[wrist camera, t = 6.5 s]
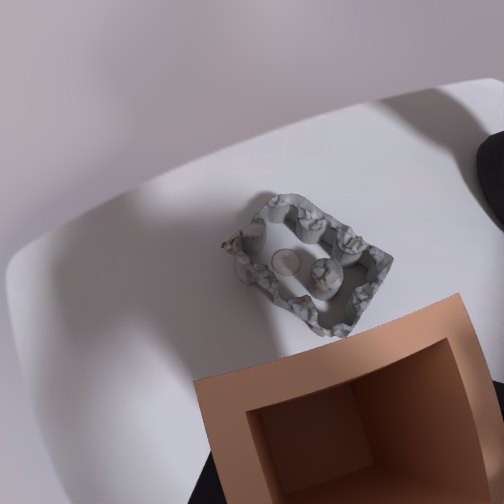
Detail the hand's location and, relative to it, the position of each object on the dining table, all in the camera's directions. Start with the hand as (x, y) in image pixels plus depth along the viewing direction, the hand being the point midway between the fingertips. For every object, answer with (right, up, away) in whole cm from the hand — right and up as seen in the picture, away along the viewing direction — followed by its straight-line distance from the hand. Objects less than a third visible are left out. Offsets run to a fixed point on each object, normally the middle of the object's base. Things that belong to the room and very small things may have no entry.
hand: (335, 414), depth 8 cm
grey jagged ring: (+2, +3, +17) cm, 17 cm away
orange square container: (+1, -4, +5) cm, 7 cm away
